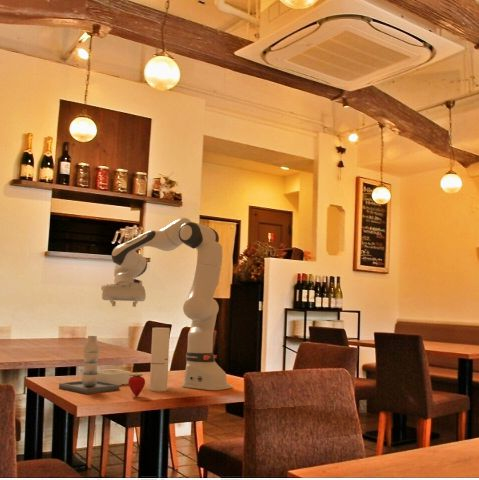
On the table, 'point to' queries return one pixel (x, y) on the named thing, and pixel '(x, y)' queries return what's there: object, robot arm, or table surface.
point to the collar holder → (114, 376)
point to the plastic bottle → (90, 362)
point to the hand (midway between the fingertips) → (124, 305)
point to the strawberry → (136, 383)
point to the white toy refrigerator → (159, 359)
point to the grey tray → (80, 388)
